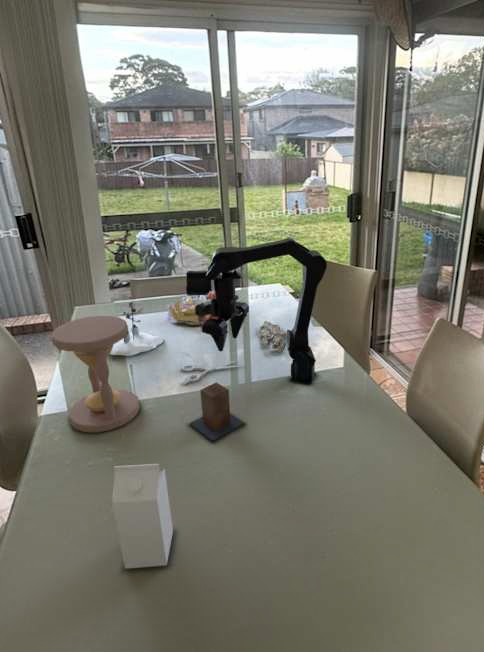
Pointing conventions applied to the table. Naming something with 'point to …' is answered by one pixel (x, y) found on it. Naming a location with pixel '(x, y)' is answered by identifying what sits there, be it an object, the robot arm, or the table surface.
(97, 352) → the hourglass
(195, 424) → the coaster mat
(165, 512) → the milk carton
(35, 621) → the table surface
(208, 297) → the yellow pink lumpy heap
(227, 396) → the walnut block
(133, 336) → the figurine
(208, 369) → the scissors
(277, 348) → the pale grey lumpy piece
